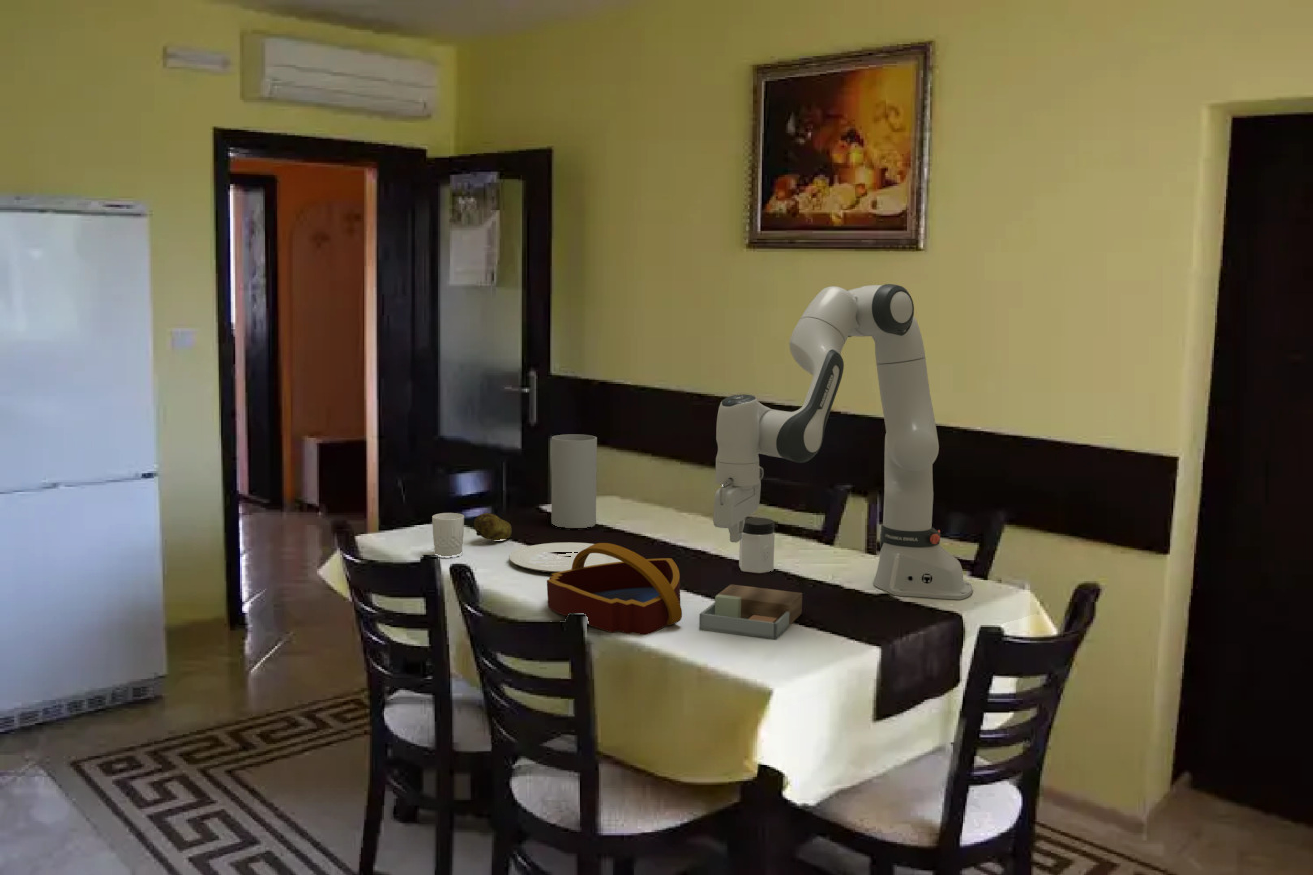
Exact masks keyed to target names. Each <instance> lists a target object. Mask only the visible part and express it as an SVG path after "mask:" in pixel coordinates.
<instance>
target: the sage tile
mask: <svg viewBox="0 0 1313 875" xmlns="http://www.w3.org/2000/svg"><path fill="white" fill-rule="evenodd" d="M716 595H717V596H716ZM716 595H715V596H714V597H715V598H714V602H715V615H719V616H726V617H734V618H741V597H736V596H728V595H720V594H719V593H718V594H716Z"/></svg>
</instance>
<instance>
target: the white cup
mask: <svg viewBox="0 0 1313 875" xmlns="http://www.w3.org/2000/svg"><path fill="white" fill-rule="evenodd" d="M431 517H432V518H431V519H432V520H431V521H432V536H433V537H432V539H433V547H434V549H433V550H434V555H435V554H438V555H441V556H452V555H457V554H460V553H461V552H462V553H463V544H464V532H465V531H464V530H465V529H464V528H465V526H464V525H465V515H464V514H461V513H458V512H457V513H456V512H455V513H454V512H442V513H436V514H434V515H432V516H431Z"/></svg>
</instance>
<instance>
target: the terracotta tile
mask: <svg viewBox="0 0 1313 875" xmlns="http://www.w3.org/2000/svg"><path fill="white" fill-rule="evenodd" d="M749 620H756V621H764V622H772V623H775V622H776V621H777V618H773V617H765V616H758V615H753V616H751V617H750V618H749Z"/></svg>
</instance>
